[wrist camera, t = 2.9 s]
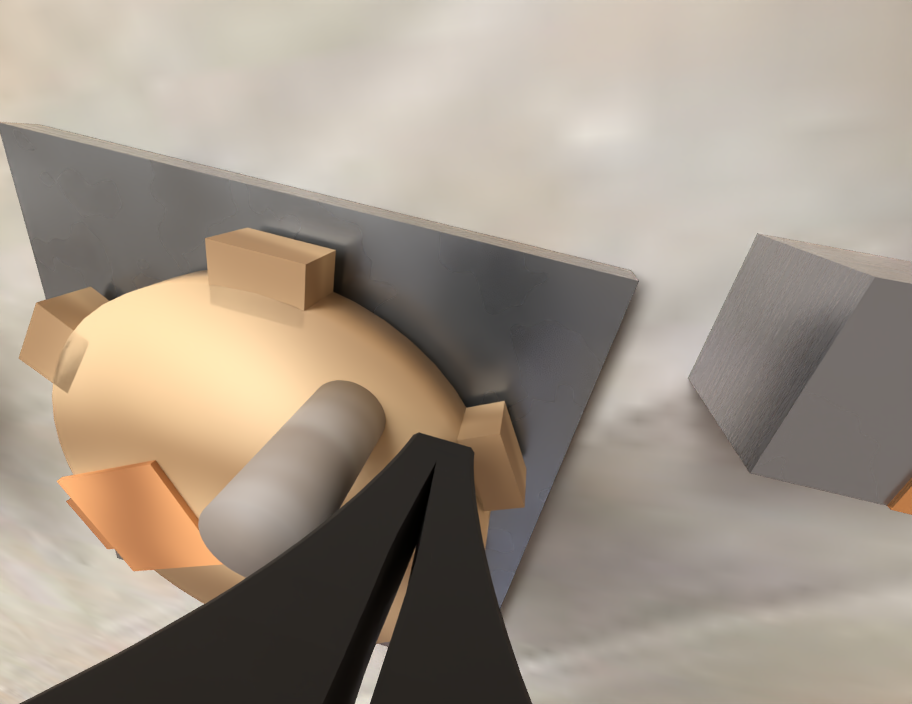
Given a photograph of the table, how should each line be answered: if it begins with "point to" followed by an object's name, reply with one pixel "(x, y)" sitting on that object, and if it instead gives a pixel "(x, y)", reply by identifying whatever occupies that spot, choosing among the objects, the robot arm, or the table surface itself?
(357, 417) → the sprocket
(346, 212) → the plate
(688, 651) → the table surface
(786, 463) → the link block
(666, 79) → the table surface
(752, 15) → the table surface
